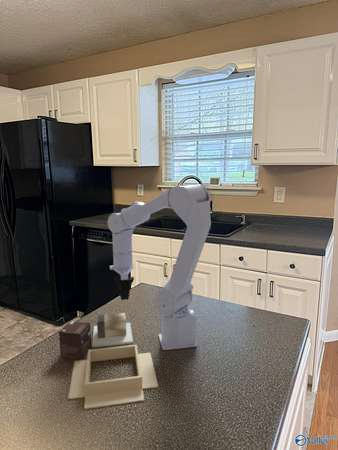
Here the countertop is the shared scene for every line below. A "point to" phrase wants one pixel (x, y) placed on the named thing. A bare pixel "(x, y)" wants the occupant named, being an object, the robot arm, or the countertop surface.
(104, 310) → the countertop surface
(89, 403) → the carton
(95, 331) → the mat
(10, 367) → the countertop surface
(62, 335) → the box
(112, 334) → the block
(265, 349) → the countertop surface
